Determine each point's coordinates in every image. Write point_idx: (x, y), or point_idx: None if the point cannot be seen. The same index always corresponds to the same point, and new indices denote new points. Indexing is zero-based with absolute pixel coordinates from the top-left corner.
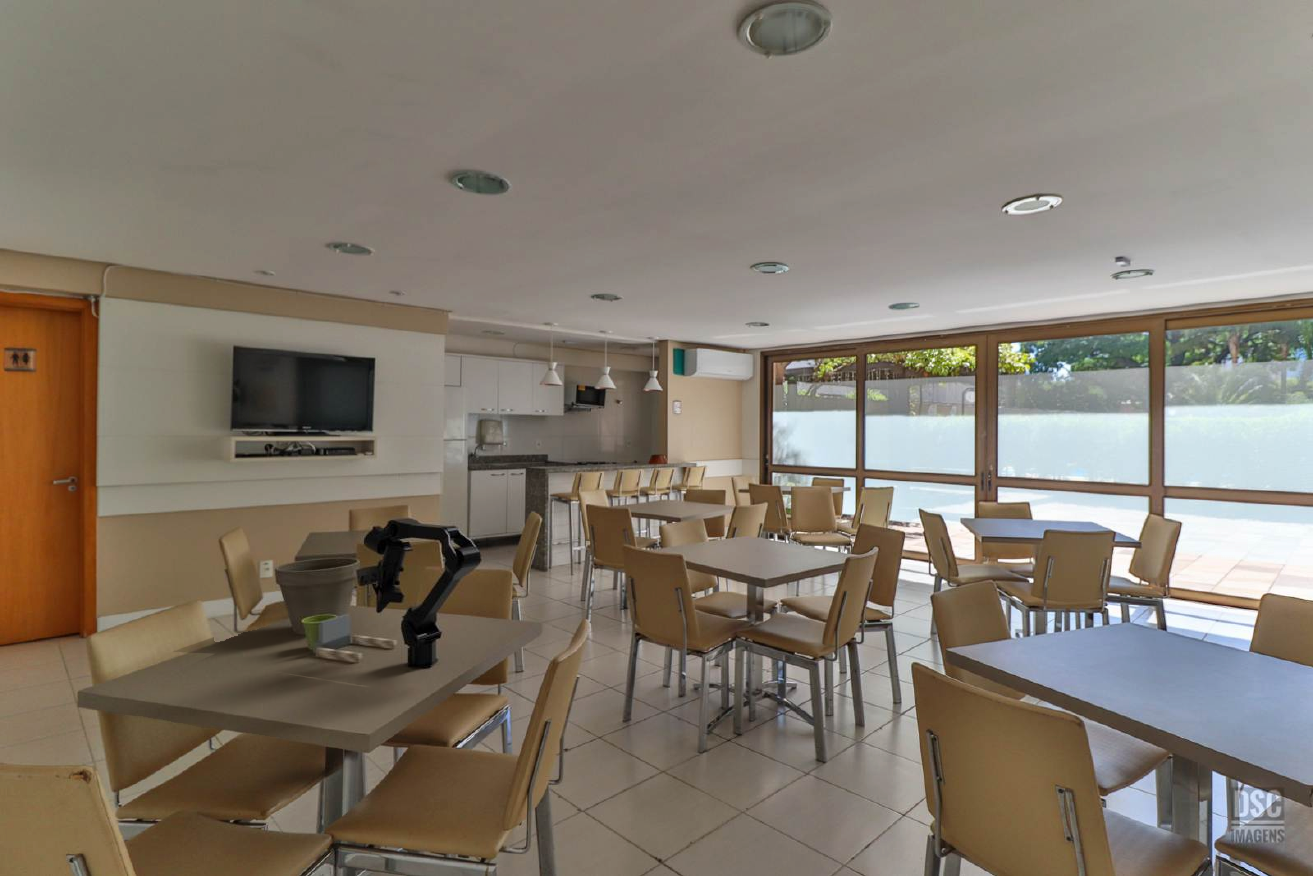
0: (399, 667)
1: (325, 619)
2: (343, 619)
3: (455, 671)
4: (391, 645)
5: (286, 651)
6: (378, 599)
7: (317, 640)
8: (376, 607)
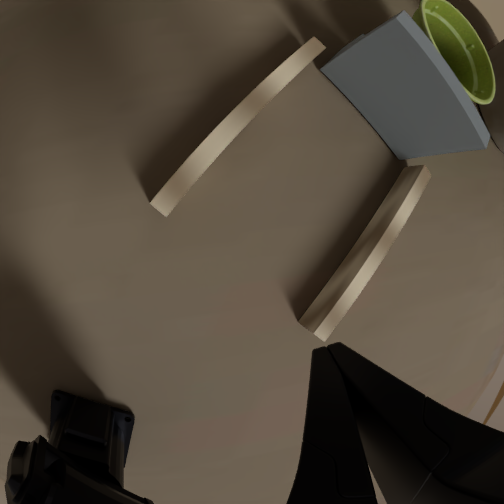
0: (66, 366)
1: (480, 78)
2: (458, 118)
3: None
4: (313, 316)
5: (376, 5)
6: (302, 495)
7: None
8: (349, 364)
